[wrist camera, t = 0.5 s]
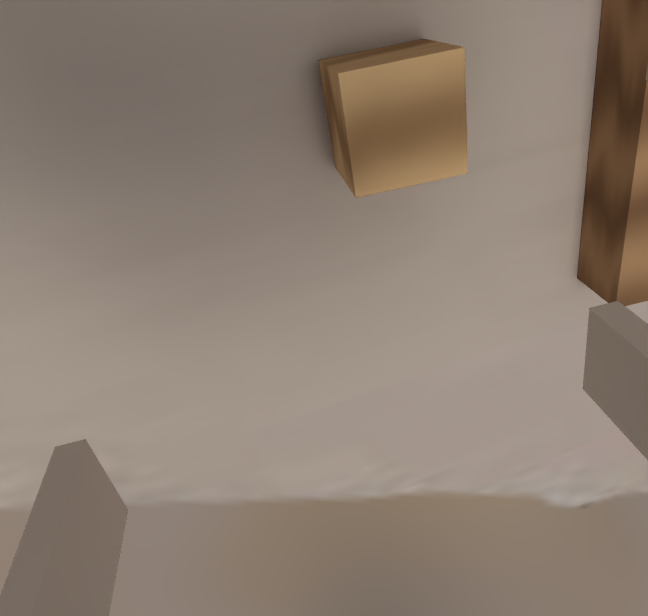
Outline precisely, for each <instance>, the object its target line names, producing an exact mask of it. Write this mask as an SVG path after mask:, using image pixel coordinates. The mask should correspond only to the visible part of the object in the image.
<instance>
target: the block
mask: <svg viewBox="0 0 648 616" xmlns="http://www.w3.org/2000/svg"><path fill="white" fill-rule="evenodd" d="M318 61H319V67H320V74H321V80H322V86H323V93H324V99H325V105H326V111H327V118H328V124H329V130H330V137H331V143H332V149H333V156H334V162H335V167H336V169H337V170H338V172H339V173H340V175H341V176H342V178H343V179H344V181H345V182H346V184H347V185H348V187H349V188H350V190H351V191H352V193H353V194H354V196H355V197H356V198H358V197H362V196H367V195H371V194H376V193H380V192H385V191H389V190H394V189H399V188H403V187H408V186H412V185H417V184H421V183H426V182H430V181H435V180H439V179H444V178H448V177H453V176H458V175H462V174H467V173H468V161H467V125H466V88H465V52H464V47H461V46H456V45H451V44H446V43H442V42H437V41H432V40H427V39H420V40H415V41H410V42H405V43H400V44H395V45H391V46H386V47H381V48H376V49H371V50H366V51H361V52H357V53H352V54H347V55H342V56H337V57H332V58H327V59H322V60H318Z"/></svg>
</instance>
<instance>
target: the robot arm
mask: <svg viewBox="0 0 648 616" xmlns="http://www.w3.org/2000/svg"><path fill="white" fill-rule="evenodd" d="M583 390H584V391H585V392H586V393H587V394H588V395H589V396H590V397H591V398H592V399H593V401H594V402H595V403H596V404H597V405H598V406H599V407H600V408H601V409H602V410H603V412H604V413H605V414H606V415H607V416H608V417H609V418H610V419H611V420H612V421H613V422H614V424H615V425H616V426H617V427H618V428H619V429H620V430H621V431H622V432H623V433H624V435H625V436H626V437H627V438H628V439H629V440H630V441H631V442H632V443H633V444H634V446H635V447H636V448H637V449H638V450H639V451H640V452H641V453H642V454H643V455H644V457H645V458H646V459H647V460H648V324H647V323H646V322H644V321H643V320H642V319H641V318H639V317H638V316H637V315H635V314H634V313H633V312H632V311H630V310H629V309H628V308H626V307H625V306H624V305H623V304H621V303H620V302H619V301H615V302H611V303H607V304H603V305H599V306H596V307H592V308H589V320H588V332H587V344H586V356H585V368H584V380H583ZM127 513H128V509H127V507H126V505H125V504H124V502H123V500H122V499H121V497H120V495H119V494H118V492H117V490H116V489H115V487H114V485H113V484H112V482H111V480H110V479H109V477H108V475H107V474H106V472H105V471H104V469H103V467H102V466H101V464H100V462H99V461H98V459H97V457H96V456H95V454H94V452H93V451H92V449H91V447H90V446H89V444H88V442H87V441H86V439H84V440H80V441H76V442H72V443H68V444H65V445H61V446H57V447H55V448H54V451H53V454H52V456H51V459H50V462H49V464H48V467H47V470H46V473H45V475H44V478H43V481H42V483H41V486H40V489H39V492H38V494H37V497H36V500H35V502H34V505H33V508H32V511H31V513H30V516H29V519H28V522H27V524H26V527H25V530H24V532H23V535H22V538H21V540H20V543H19V546H18V549H17V551H16V554H15V557H14V559H13V562H12V565H11V568H10V570H9V573H8V576H7V578H6V581H5V584H4V586H3V589H2V592H1V595H0V616H109V611H110V606H111V600H112V595H113V590H114V584H115V579H116V573H117V567H118V562H119V557H120V552H121V546H122V541H123V534H124V529H125V524H126V518H127Z"/></svg>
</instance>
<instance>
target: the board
mask: <svg viewBox="0 0 648 616" xmlns="http://www.w3.org/2000/svg"><path fill="white" fill-rule="evenodd" d="M577 278H578V279H579V280H580V281H581V282H583V283H584V284H585V285H586V286H588V287H589V288H590V289H592V290H593V291H594V292H595V293H597V294H598V295H599V296H600V297H602V298H603V299H604V300H605V301H607V302H608V303H611V302H615V301H619V302H620V303H621V304H623V305H624V306H627V305H631V304H636V303H640V302H644V301H648V0H603V3H602V14H601V24H600V35H599V46H598V57H597V68H596V79H595V90H594V101H593V112H592V122H591V133H590V144H589V155H588V166H587V177H586V188H585V199H584V210H583V221H582V231H581V242H580V253H579V264H578V275H577Z"/></svg>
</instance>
